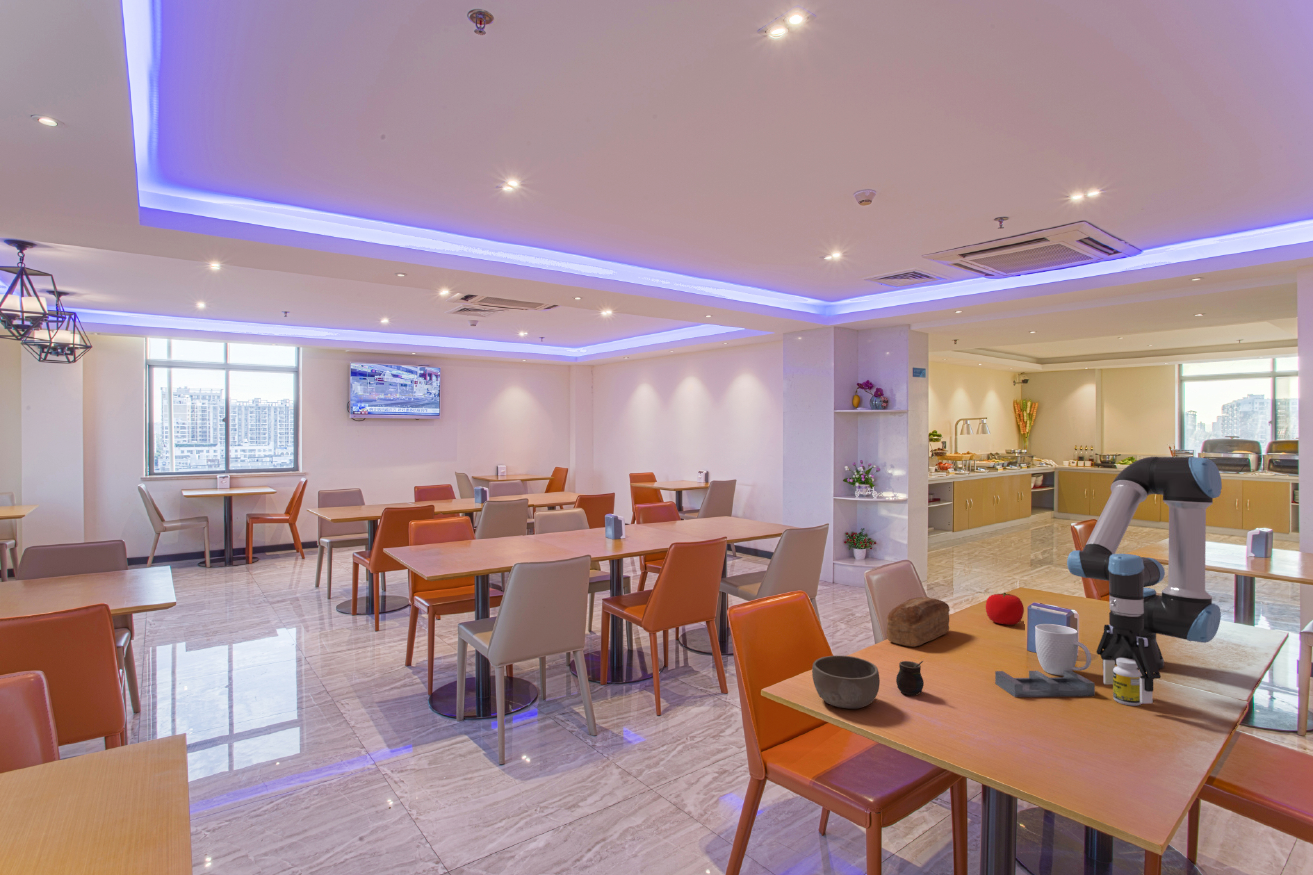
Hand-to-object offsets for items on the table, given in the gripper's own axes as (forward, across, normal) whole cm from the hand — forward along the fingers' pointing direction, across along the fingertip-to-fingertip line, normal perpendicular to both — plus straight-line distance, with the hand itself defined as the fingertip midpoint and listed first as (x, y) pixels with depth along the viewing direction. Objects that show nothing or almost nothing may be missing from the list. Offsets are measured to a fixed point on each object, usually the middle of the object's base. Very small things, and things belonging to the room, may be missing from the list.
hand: (1127, 693), depth 175 cm
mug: (+3, -22, -4) cm, 23 cm away
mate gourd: (+3, -8, -55) cm, 56 cm away
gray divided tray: (+2, -9, -17) cm, 19 cm away
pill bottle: (+3, 0, 0) cm, 3 cm away
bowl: (+3, -2, -75) cm, 75 cm away
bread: (+3, -59, -31) cm, 67 cm away
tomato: (+2, -76, +9) cm, 77 cm away
